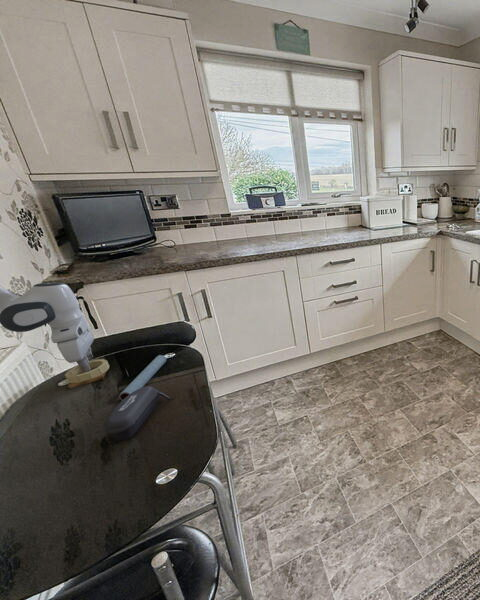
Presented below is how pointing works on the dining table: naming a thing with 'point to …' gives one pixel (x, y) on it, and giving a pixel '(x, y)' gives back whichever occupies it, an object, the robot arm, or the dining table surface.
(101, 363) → the tape
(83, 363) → the stand
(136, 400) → the glasses case
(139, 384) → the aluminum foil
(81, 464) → the dining table surface
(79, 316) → the robot arm
